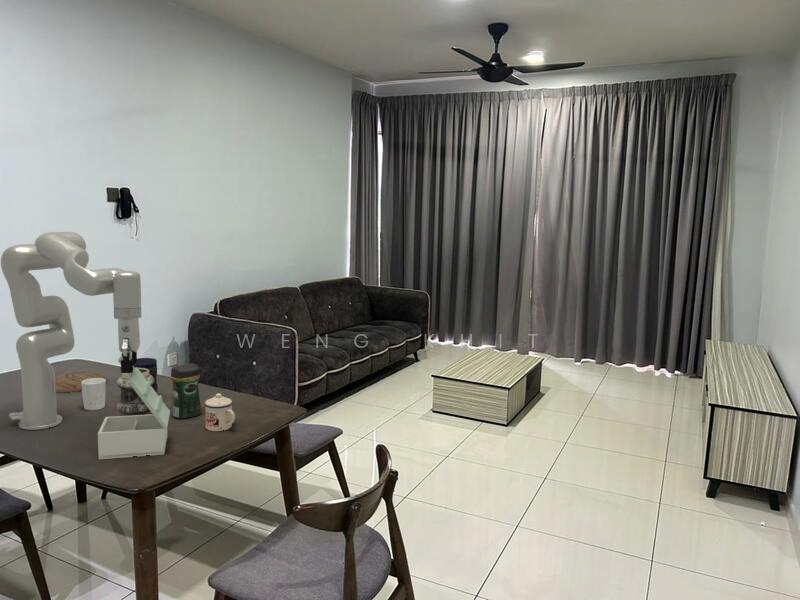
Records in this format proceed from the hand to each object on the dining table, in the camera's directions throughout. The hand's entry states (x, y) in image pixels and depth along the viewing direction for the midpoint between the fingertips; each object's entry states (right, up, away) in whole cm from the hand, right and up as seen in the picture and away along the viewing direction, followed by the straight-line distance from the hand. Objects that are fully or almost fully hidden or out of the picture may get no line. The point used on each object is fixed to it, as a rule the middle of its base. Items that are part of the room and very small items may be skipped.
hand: (129, 368), depth 183 cm
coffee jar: (+5, -21, +34) cm, 40 cm away
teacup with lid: (+21, -23, +23) cm, 39 cm away
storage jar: (-16, -18, +49) cm, 54 cm away
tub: (0, -25, +4) cm, 25 cm away
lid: (+3, -7, +2) cm, 8 cm away
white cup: (-29, -19, +38) cm, 51 cm away
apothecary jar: (-9, -21, +26) cm, 35 cm away
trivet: (-51, -14, +63) cm, 82 cm away
